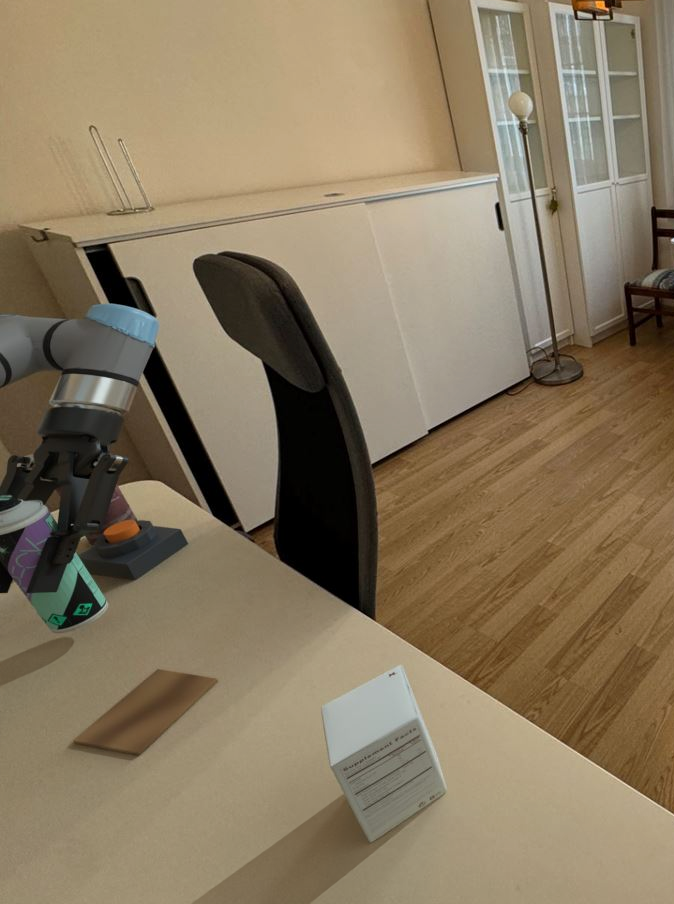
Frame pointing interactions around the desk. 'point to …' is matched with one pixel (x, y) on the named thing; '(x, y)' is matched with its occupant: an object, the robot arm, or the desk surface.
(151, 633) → the desk surface
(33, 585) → the robot arm
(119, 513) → the can
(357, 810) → the white packaging box
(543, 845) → the desk surface
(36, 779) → the desk surface
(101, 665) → the desk surface
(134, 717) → the wooden board
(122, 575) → the button housing
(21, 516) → the spray can
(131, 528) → the orange button cap
